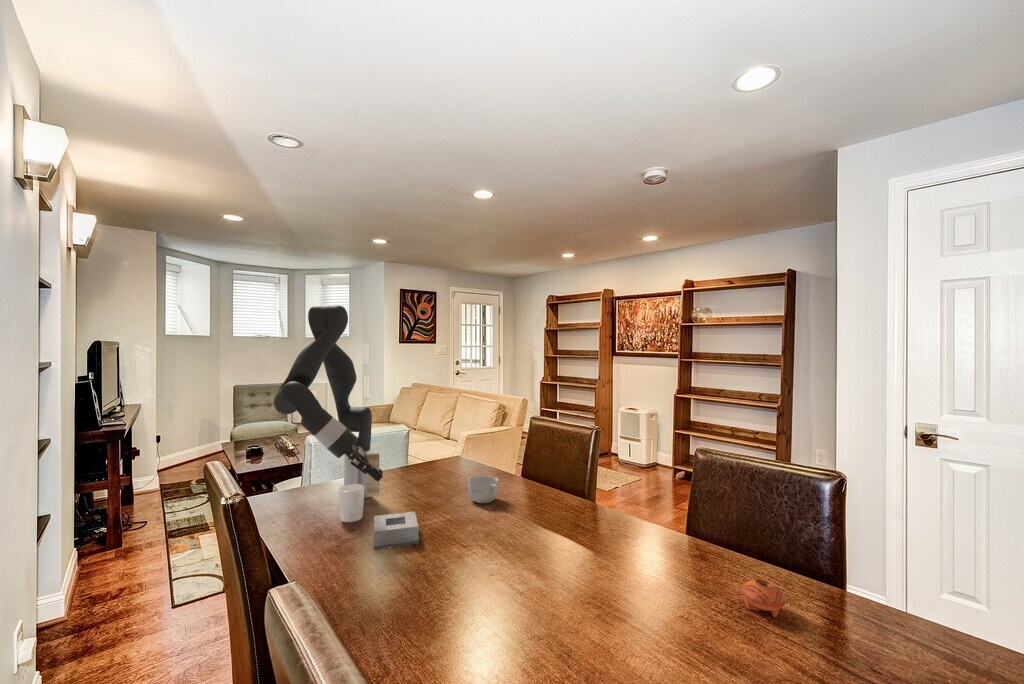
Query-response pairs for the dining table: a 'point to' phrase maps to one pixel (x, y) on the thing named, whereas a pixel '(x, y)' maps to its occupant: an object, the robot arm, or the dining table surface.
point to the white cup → (351, 502)
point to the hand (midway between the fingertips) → (380, 476)
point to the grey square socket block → (395, 530)
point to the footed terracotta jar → (763, 595)
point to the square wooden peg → (371, 482)
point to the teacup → (483, 488)
